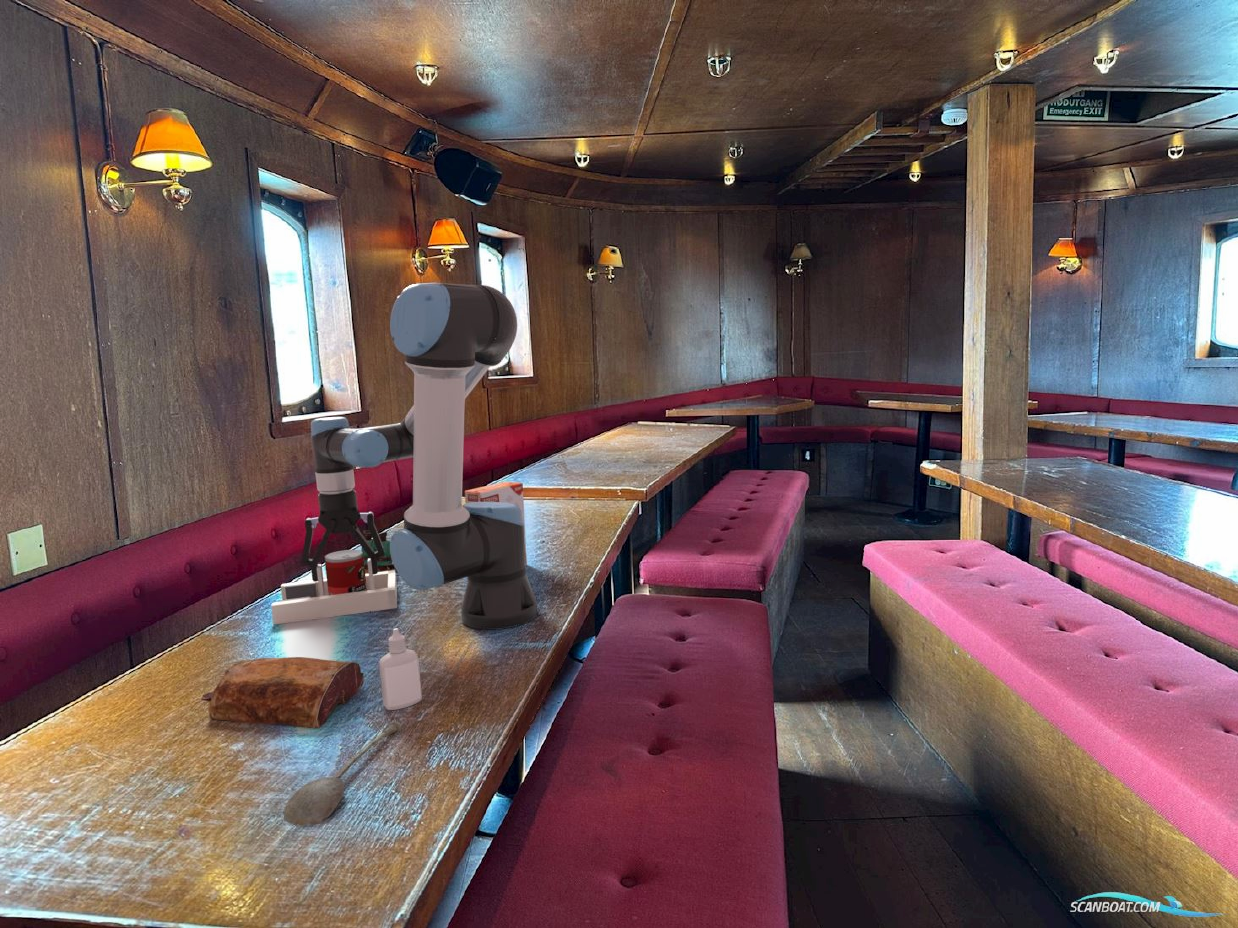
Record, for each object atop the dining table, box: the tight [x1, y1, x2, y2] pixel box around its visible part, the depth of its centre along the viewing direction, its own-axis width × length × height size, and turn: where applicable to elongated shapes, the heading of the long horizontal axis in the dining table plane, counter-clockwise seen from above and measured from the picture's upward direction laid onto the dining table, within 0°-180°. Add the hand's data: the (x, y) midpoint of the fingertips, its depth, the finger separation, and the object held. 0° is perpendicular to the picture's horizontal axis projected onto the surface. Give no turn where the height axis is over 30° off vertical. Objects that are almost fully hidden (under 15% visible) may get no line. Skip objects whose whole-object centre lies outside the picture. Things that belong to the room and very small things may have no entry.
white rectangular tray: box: [270, 569, 398, 626], centre depth 160 cm, size 15×24×4 cm, turn 106°
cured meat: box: [201, 656, 365, 729], centre depth 117 cm, size 18×25×7 cm
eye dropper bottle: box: [378, 627, 423, 711], centre depth 113 cm, size 4×6×12 cm
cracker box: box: [464, 481, 528, 566], centre depth 178 cm, size 14×6×21 cm, turn 143°
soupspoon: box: [283, 721, 402, 826], centre depth 96 cm, size 22×3×7 cm
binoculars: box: [360, 529, 396, 574], centre depth 184 cm, size 9×11×10 cm
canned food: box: [324, 549, 367, 595], centre depth 160 cm, size 8×8×11 cm
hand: (347, 591), depth 161 cm, fingers open, 9 cm apart
